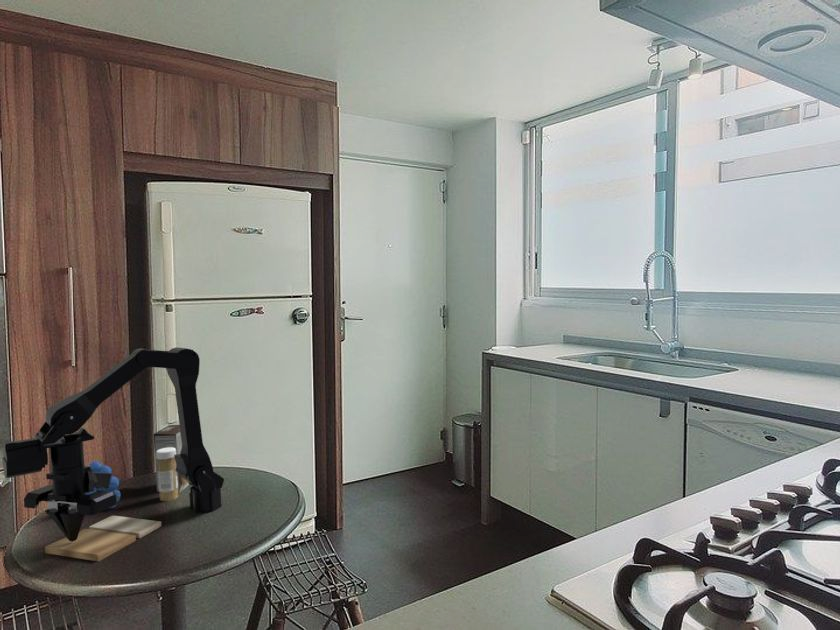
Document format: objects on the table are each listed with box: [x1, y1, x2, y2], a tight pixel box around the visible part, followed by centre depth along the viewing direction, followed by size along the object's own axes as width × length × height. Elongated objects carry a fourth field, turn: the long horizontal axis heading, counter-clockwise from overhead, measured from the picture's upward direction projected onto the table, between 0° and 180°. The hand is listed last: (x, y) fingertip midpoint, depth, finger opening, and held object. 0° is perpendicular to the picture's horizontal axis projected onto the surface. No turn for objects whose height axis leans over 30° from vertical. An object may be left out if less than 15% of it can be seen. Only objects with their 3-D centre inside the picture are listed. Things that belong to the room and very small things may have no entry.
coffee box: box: [152, 424, 190, 494], centre depth 147 cm, size 9×6×16 cm
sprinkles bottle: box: [156, 447, 179, 502], centre depth 137 cm, size 5×5×13 cm
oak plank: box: [44, 528, 137, 562], centre depth 112 cm, size 14×9×2 cm, turn 72°
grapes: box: [86, 460, 122, 510], centre depth 132 cm, size 12×7×12 cm, turn 71°
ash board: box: [88, 515, 162, 539], centre depth 120 cm, size 14×6×2 cm, turn 72°
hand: (73, 540), depth 111 cm, fingers closed
